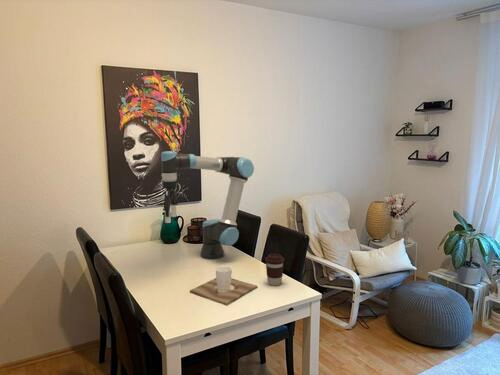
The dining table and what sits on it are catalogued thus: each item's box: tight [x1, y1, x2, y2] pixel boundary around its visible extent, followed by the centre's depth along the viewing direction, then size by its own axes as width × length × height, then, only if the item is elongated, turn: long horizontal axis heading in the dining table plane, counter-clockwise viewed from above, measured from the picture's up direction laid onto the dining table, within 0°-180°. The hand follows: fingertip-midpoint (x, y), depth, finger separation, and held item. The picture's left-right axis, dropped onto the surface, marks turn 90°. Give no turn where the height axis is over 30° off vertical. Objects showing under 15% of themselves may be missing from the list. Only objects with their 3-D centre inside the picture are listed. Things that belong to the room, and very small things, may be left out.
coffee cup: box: [264, 253, 285, 287], centre depth 194 cm, size 10×10×15 cm
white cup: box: [215, 265, 233, 291], centre depth 186 cm, size 8×8×10 cm
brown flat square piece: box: [189, 277, 258, 306], centre depth 187 cm, size 24×24×3 cm
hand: (171, 219), depth 201 cm, fingers open, 13 cm apart
